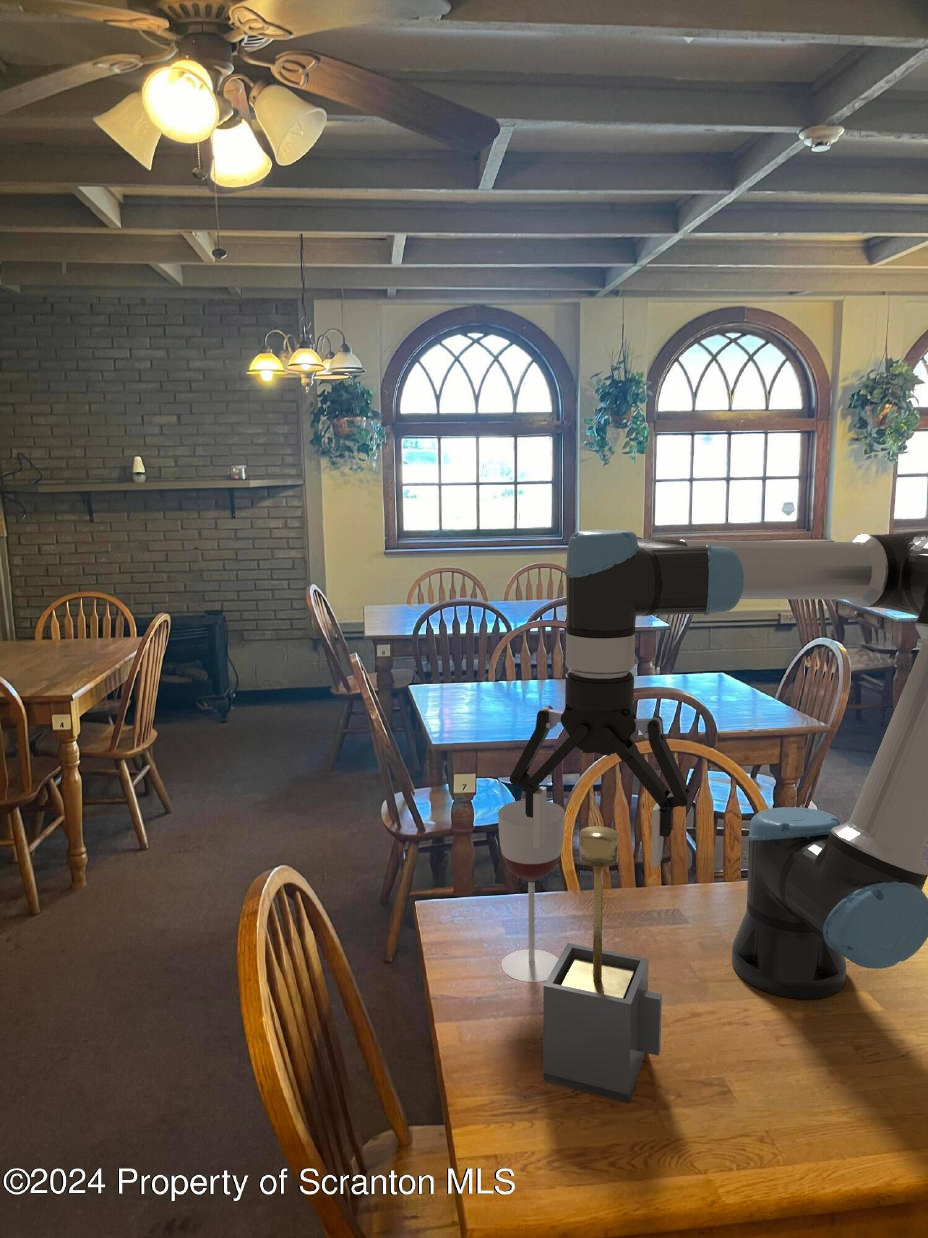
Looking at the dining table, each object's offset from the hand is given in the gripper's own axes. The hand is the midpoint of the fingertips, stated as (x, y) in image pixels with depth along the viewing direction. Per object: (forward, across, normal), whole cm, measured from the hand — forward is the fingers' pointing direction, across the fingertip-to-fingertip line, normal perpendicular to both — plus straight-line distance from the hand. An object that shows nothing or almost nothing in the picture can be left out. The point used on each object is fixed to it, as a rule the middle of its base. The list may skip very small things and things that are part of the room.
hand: (596, 853), depth 101 cm
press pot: (+27, -2, 0) cm, 27 cm away
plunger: (+16, 0, 0) cm, 17 cm away
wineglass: (+27, +14, -18) cm, 35 cm away
